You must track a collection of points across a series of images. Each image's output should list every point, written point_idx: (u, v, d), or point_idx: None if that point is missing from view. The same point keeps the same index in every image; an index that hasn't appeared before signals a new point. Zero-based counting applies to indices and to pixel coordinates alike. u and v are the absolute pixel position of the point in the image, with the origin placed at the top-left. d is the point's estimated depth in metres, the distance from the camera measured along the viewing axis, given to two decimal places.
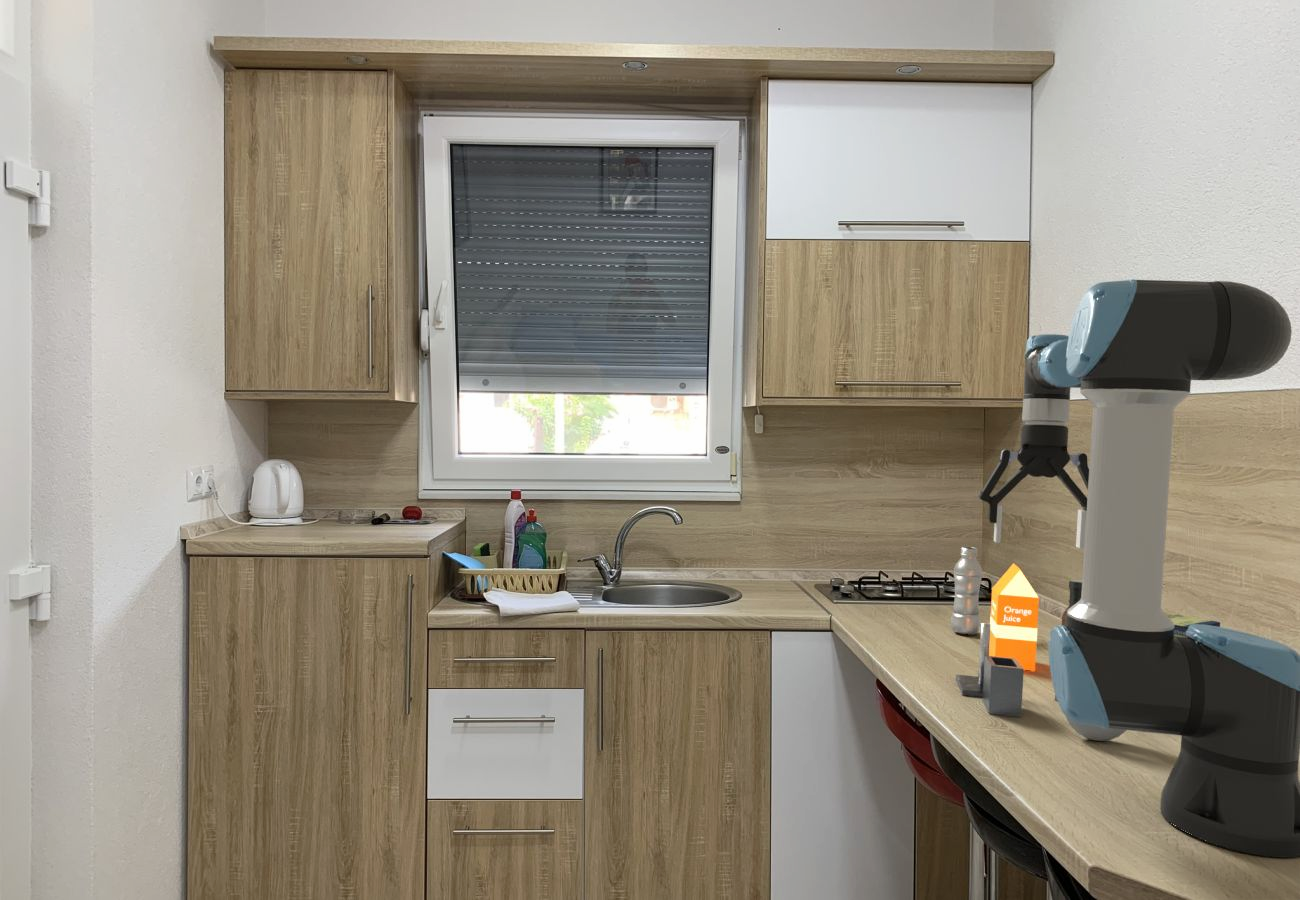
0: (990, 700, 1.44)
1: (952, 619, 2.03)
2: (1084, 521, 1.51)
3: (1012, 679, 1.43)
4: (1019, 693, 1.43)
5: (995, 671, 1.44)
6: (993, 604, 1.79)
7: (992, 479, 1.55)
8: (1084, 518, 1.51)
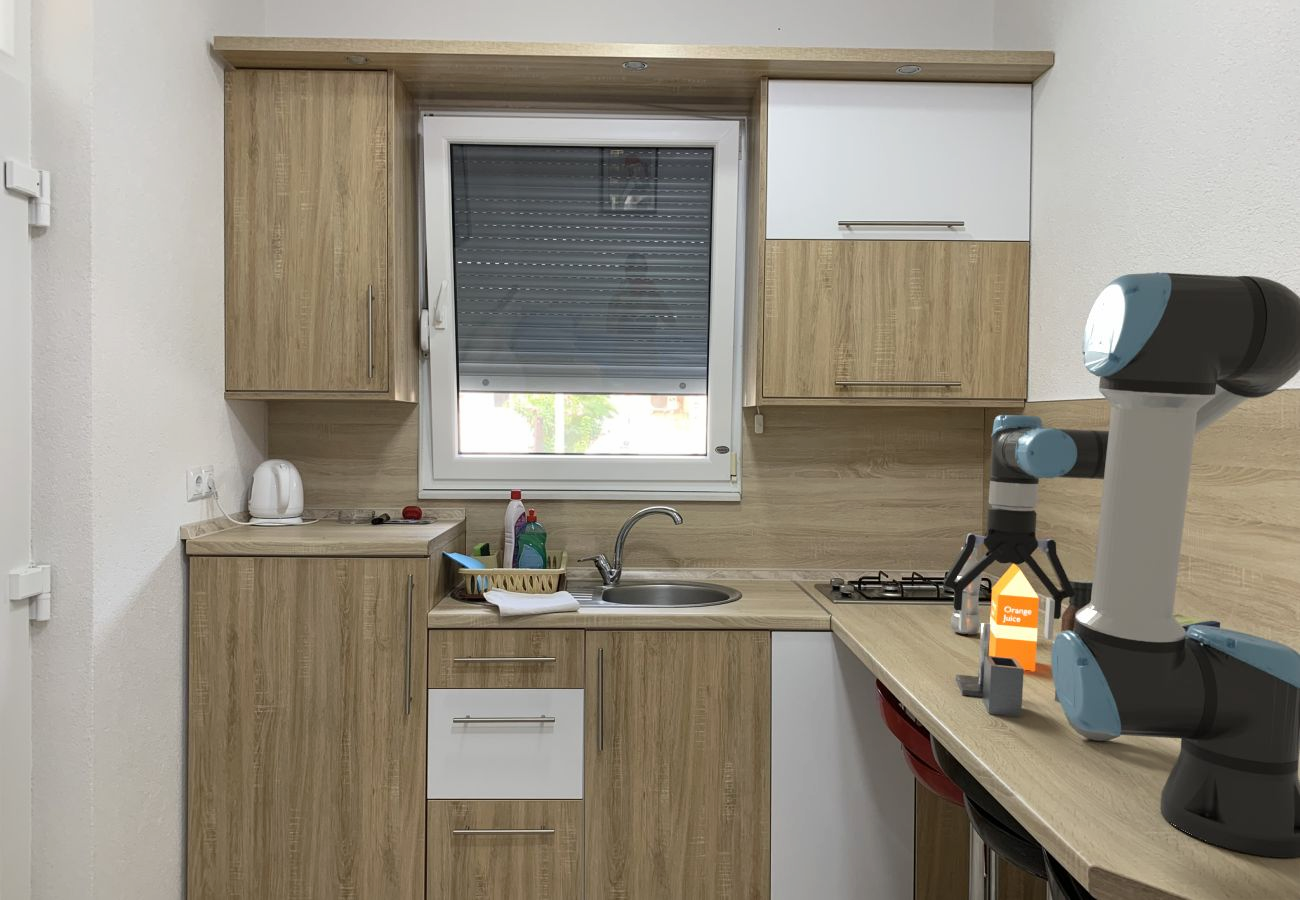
0: (990, 700, 1.44)
1: (952, 619, 2.03)
2: (1052, 611, 1.44)
3: (1012, 679, 1.43)
4: (1019, 693, 1.43)
5: (995, 671, 1.44)
6: (993, 604, 1.79)
7: (957, 565, 1.47)
8: (1052, 608, 1.44)
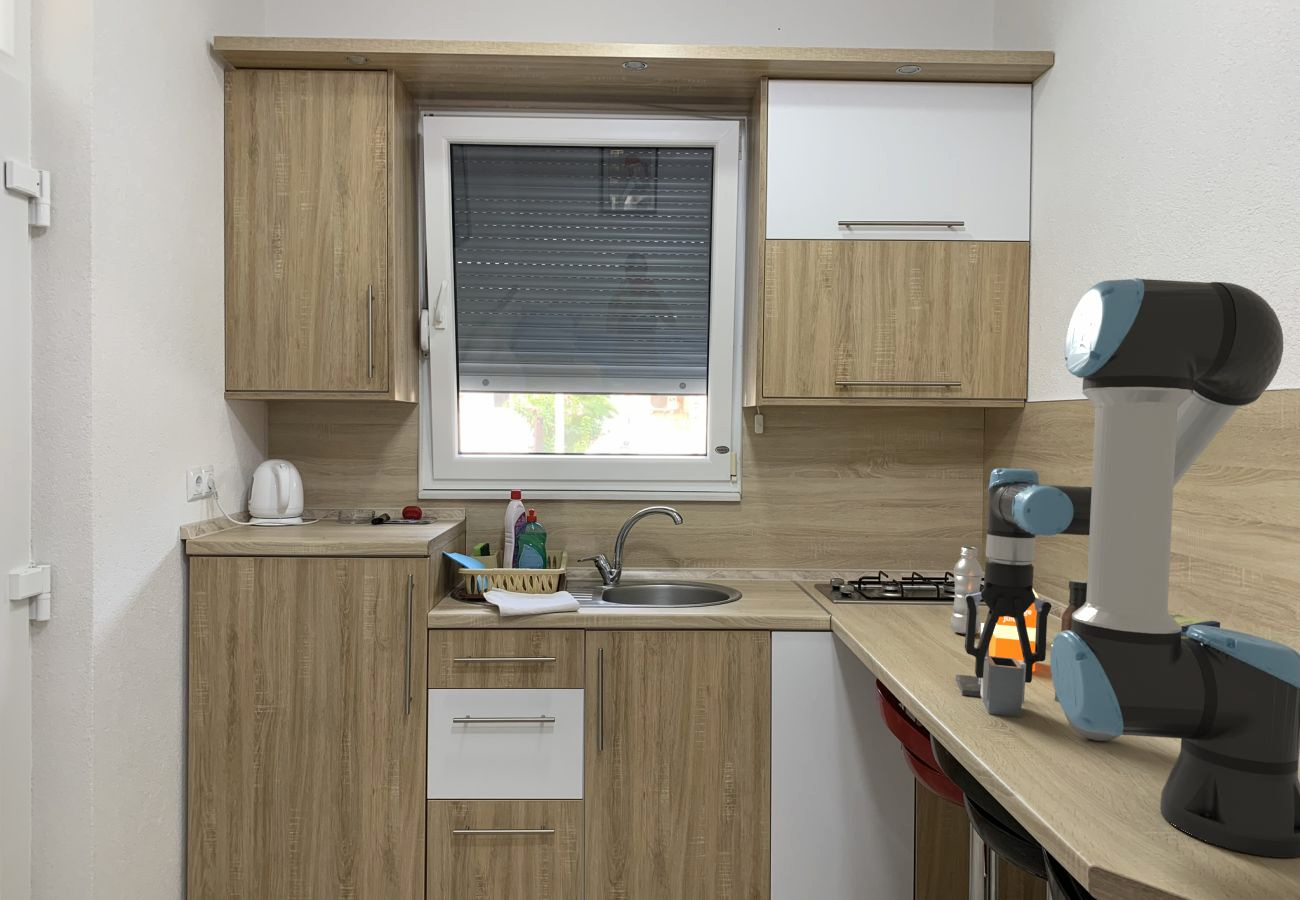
0: (990, 700, 1.44)
1: (952, 619, 2.03)
2: (1023, 675, 1.45)
3: (1012, 679, 1.43)
4: (1019, 693, 1.43)
5: (995, 671, 1.44)
6: None
7: (969, 630, 1.47)
8: None
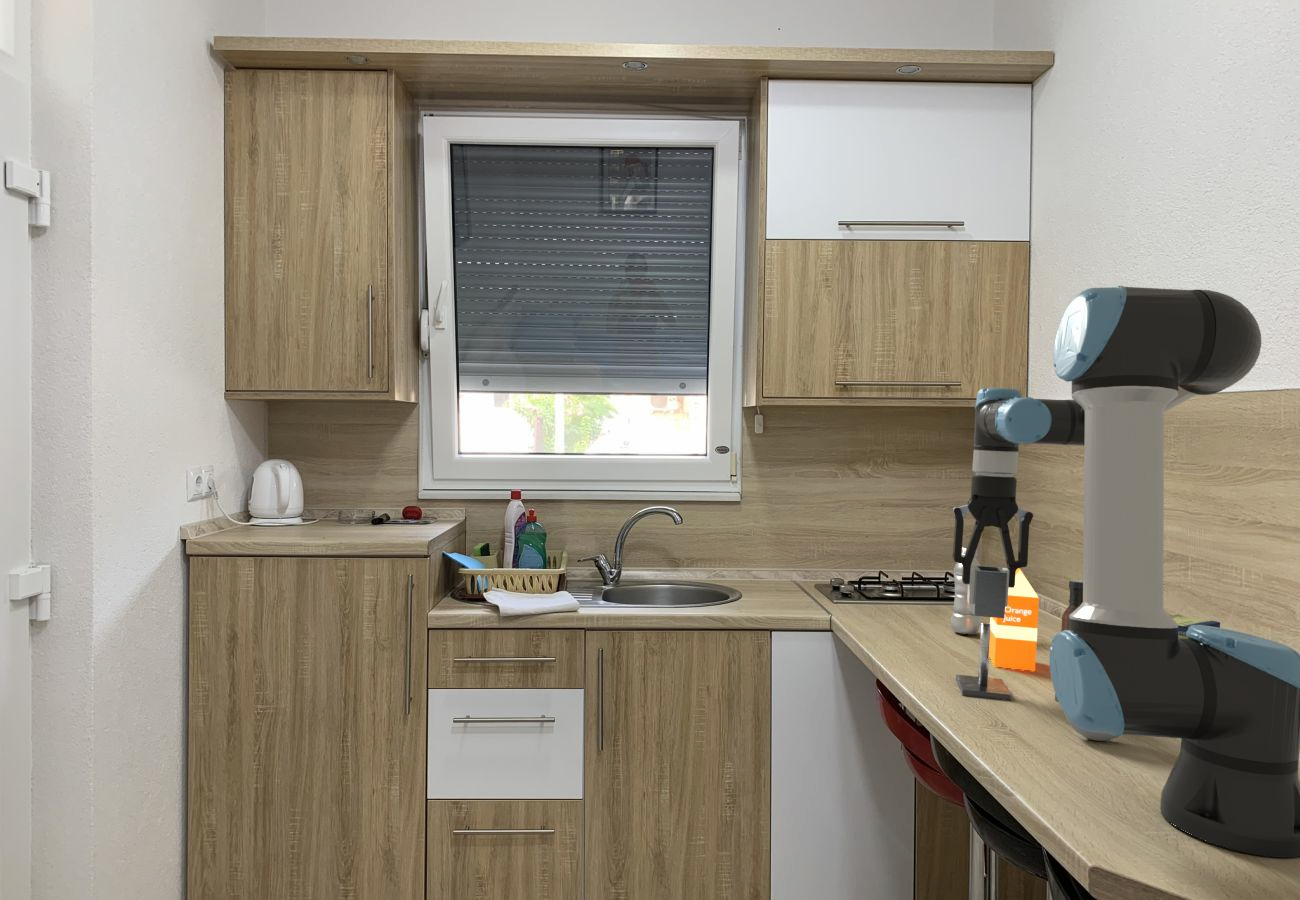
0: (976, 603, 1.55)
1: (952, 619, 2.03)
2: (1007, 580, 1.56)
3: (996, 583, 1.54)
4: (1003, 595, 1.54)
5: (981, 576, 1.55)
6: None
7: (956, 539, 1.57)
8: (1007, 577, 1.56)
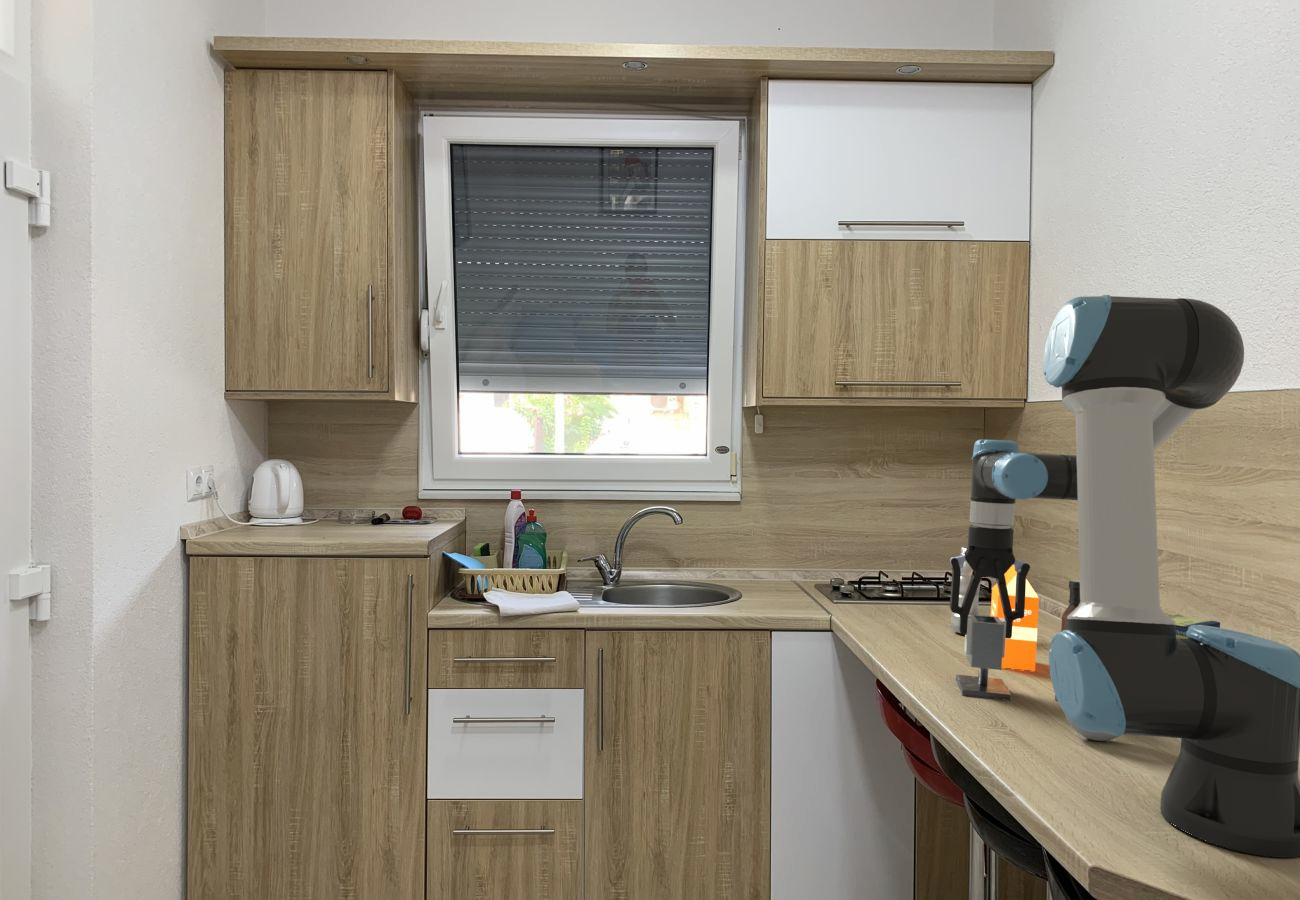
0: (973, 654, 1.55)
1: (952, 619, 2.03)
2: (1004, 631, 1.56)
3: (993, 634, 1.54)
4: (1000, 647, 1.54)
5: (978, 627, 1.55)
6: (993, 604, 1.79)
7: (954, 590, 1.58)
8: (1004, 628, 1.56)
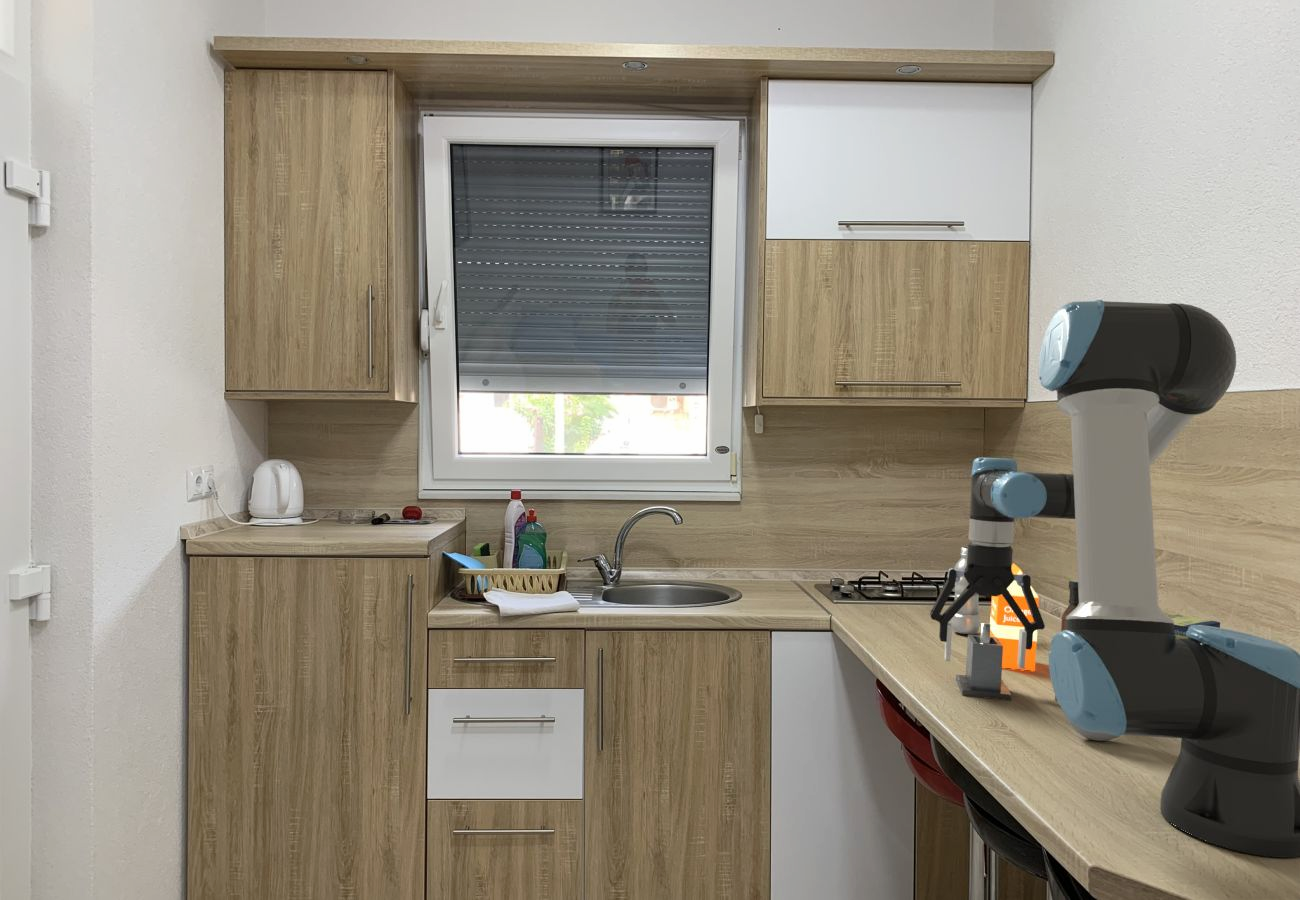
0: (972, 675, 1.55)
1: (952, 619, 2.03)
2: (1024, 642, 1.55)
3: (992, 656, 1.54)
4: (999, 668, 1.54)
5: (977, 648, 1.55)
6: (993, 604, 1.79)
7: (941, 598, 1.58)
8: (1024, 639, 1.55)
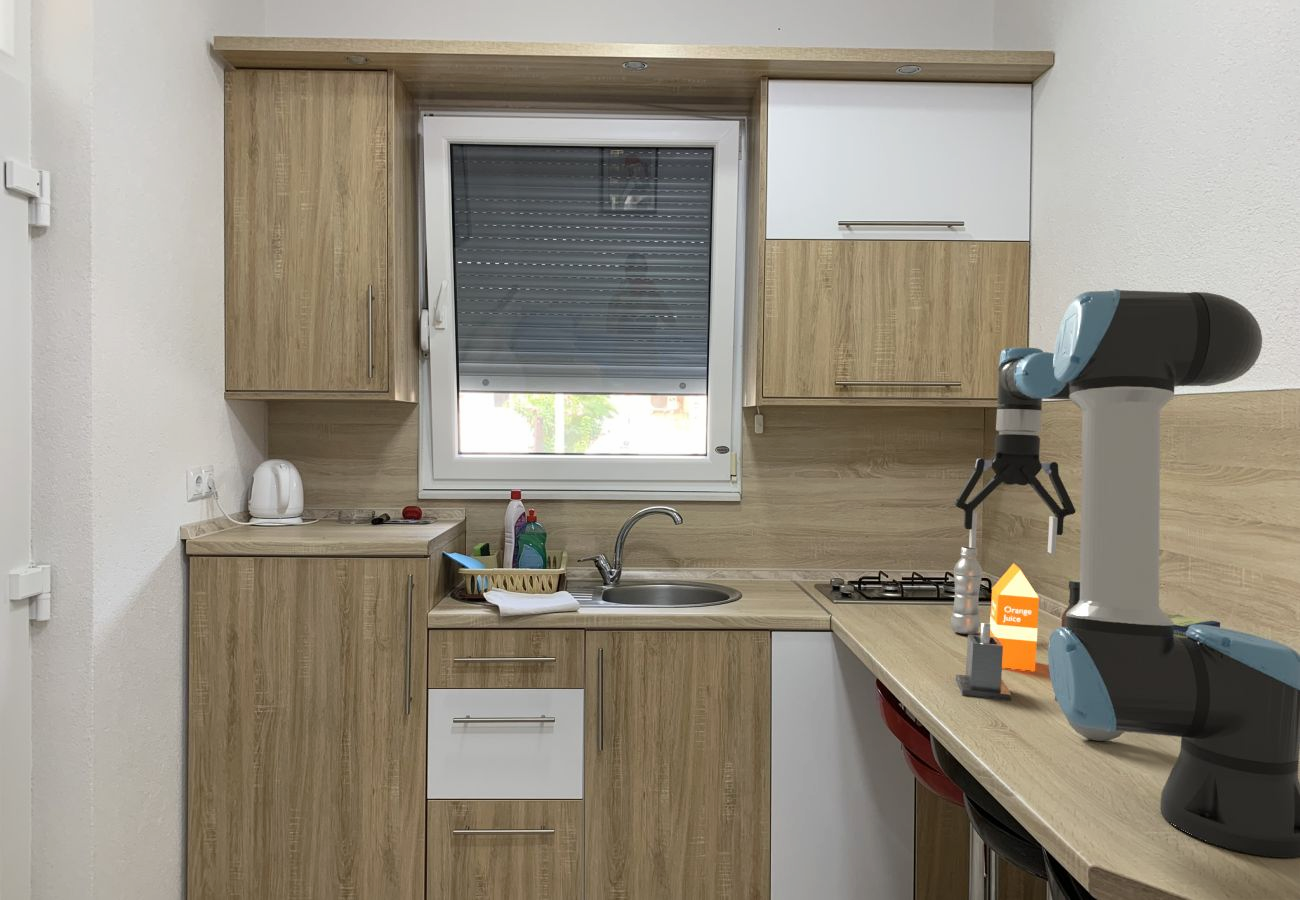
0: (972, 675, 1.55)
1: (952, 619, 2.03)
2: (1055, 527, 1.57)
3: (992, 656, 1.54)
4: (999, 668, 1.54)
5: (977, 648, 1.55)
6: (993, 604, 1.79)
7: (967, 487, 1.60)
8: (1055, 524, 1.57)
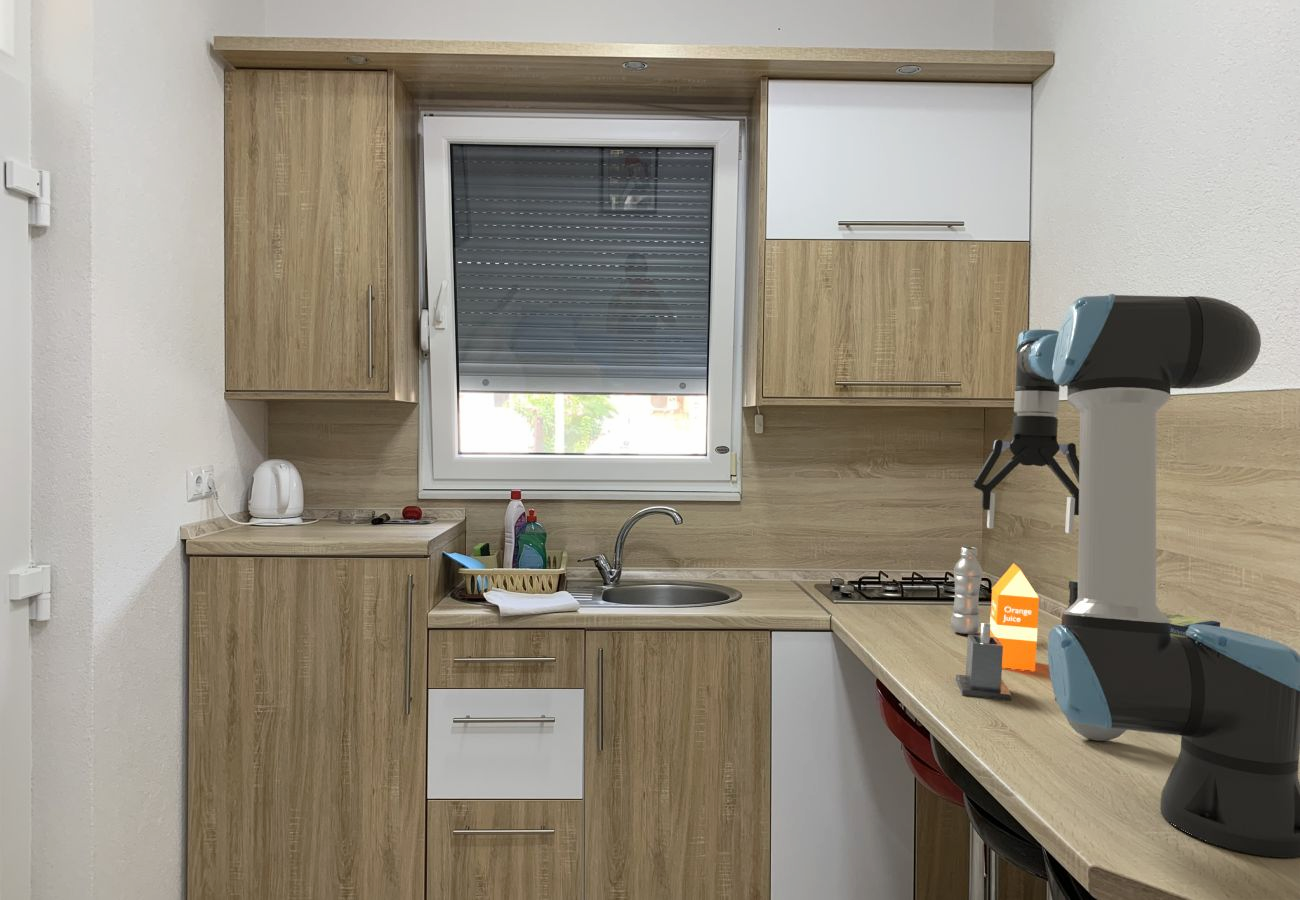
0: (972, 675, 1.55)
1: (952, 619, 2.03)
2: (1073, 507, 1.58)
3: (992, 656, 1.54)
4: (999, 668, 1.54)
5: (977, 648, 1.55)
6: (993, 604, 1.79)
7: (985, 468, 1.62)
8: (1073, 505, 1.58)
